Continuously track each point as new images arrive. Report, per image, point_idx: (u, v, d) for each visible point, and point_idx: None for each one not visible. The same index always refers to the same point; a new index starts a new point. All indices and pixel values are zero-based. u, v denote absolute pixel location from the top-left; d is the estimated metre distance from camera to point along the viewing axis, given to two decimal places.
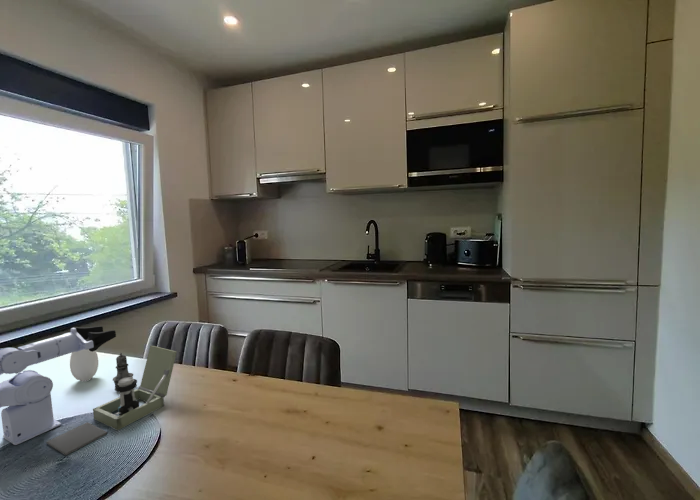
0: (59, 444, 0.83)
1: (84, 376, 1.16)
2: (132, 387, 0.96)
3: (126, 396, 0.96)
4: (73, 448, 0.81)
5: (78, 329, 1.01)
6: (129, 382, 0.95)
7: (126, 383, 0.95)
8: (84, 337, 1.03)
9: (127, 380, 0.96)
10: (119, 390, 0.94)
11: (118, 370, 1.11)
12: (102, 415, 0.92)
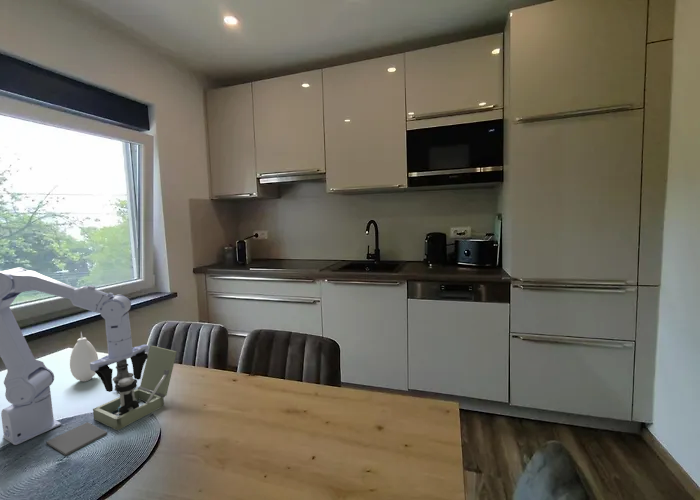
0: (59, 444, 0.83)
1: (84, 376, 1.16)
2: (132, 387, 0.96)
3: (126, 396, 0.96)
4: (73, 448, 0.81)
5: (139, 359, 0.97)
6: (129, 382, 0.95)
7: (126, 383, 0.95)
8: (133, 361, 0.99)
9: (127, 380, 0.96)
10: (119, 390, 0.94)
11: (118, 370, 1.11)
12: (102, 415, 0.92)
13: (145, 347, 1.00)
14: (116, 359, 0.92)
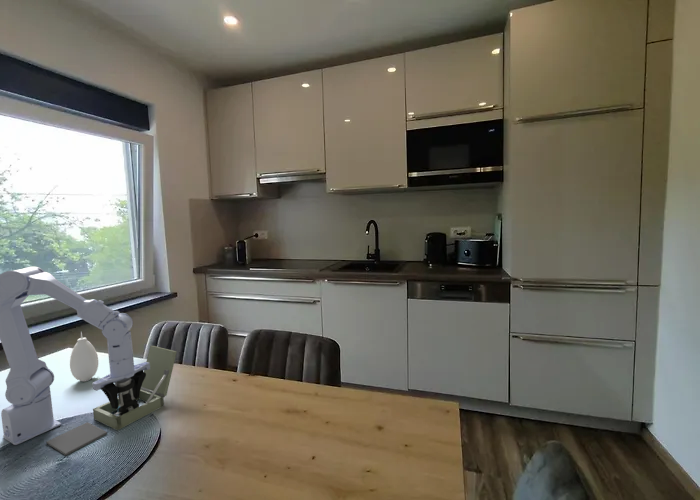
0: (59, 444, 0.83)
1: (84, 376, 1.16)
2: (130, 387, 0.95)
3: (124, 396, 0.95)
4: (73, 448, 0.81)
5: (137, 379, 0.97)
6: (126, 382, 0.95)
7: (123, 383, 0.94)
8: None
9: (124, 380, 0.95)
10: None
11: None
12: (102, 415, 0.92)
13: (147, 365, 1.01)
14: (118, 378, 0.92)
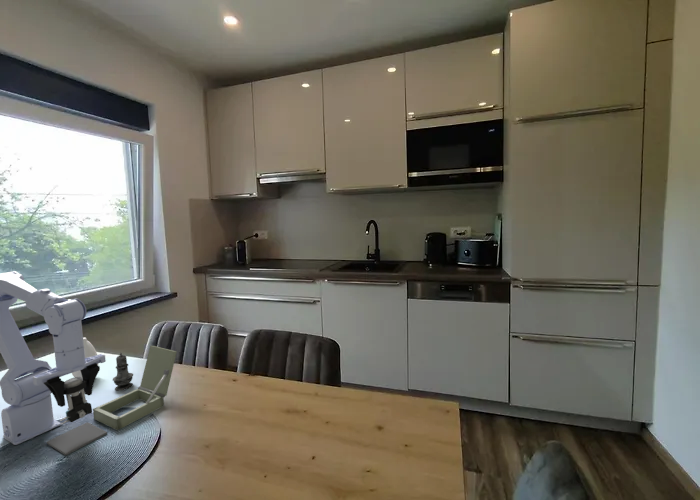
0: (59, 444, 0.83)
1: None
2: (80, 388, 0.84)
3: (74, 398, 0.84)
4: (73, 448, 0.81)
5: (89, 372, 0.86)
6: (76, 382, 0.84)
7: (72, 384, 0.83)
8: (83, 375, 0.88)
9: (74, 380, 0.84)
10: (64, 392, 0.83)
11: (118, 370, 1.11)
12: (102, 415, 0.92)
13: (101, 357, 0.90)
14: (64, 372, 0.81)
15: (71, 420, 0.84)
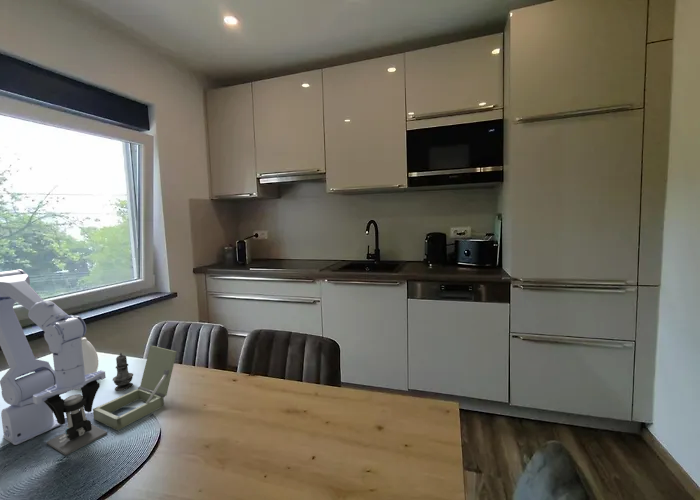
0: (59, 444, 0.83)
1: None
2: (80, 406, 0.84)
3: (74, 416, 0.85)
4: (73, 448, 0.81)
5: (89, 390, 0.86)
6: (76, 400, 0.84)
7: (72, 402, 0.84)
8: (83, 392, 0.88)
9: (74, 398, 0.85)
10: (64, 410, 0.83)
11: (118, 370, 1.11)
12: (102, 415, 0.92)
13: (101, 374, 0.90)
14: (64, 390, 0.81)
15: (70, 438, 0.84)
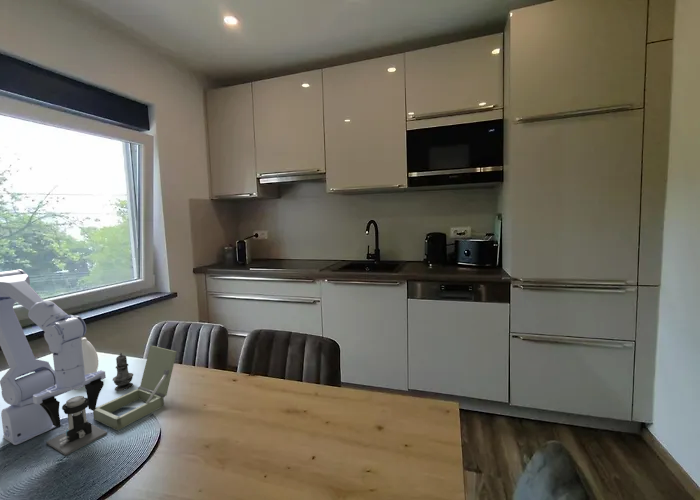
0: (59, 444, 0.83)
1: None
2: (82, 408, 0.84)
3: (75, 418, 0.85)
4: (73, 448, 0.81)
5: (93, 388, 0.87)
6: (78, 402, 0.84)
7: (75, 403, 0.84)
8: (88, 390, 0.89)
9: (76, 400, 0.85)
10: (66, 412, 0.83)
11: (118, 370, 1.11)
12: (102, 415, 0.92)
13: (101, 374, 0.90)
14: (64, 390, 0.81)
15: (70, 440, 0.84)
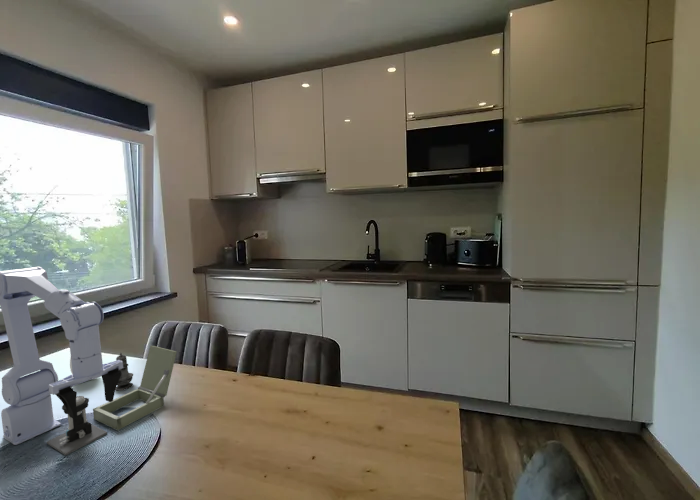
0: (59, 444, 0.83)
1: None
2: (82, 408, 0.85)
3: (75, 418, 0.85)
4: (73, 448, 0.81)
5: (111, 378, 0.82)
6: (78, 402, 0.84)
7: None
8: (105, 381, 0.84)
9: (76, 400, 0.85)
10: (66, 411, 0.83)
11: None
12: (102, 415, 0.92)
13: (119, 363, 0.85)
14: (81, 379, 0.77)
15: (70, 440, 0.84)
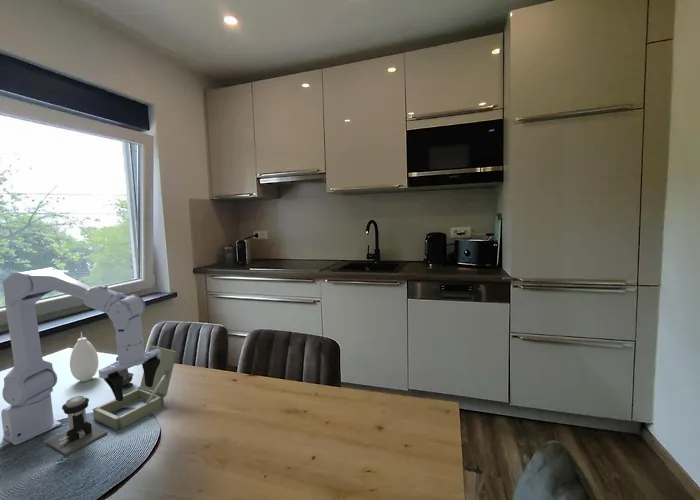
0: (59, 444, 0.83)
1: (84, 376, 1.16)
2: (82, 408, 0.85)
3: (75, 418, 0.85)
4: (73, 448, 0.81)
5: (151, 365, 0.90)
6: (78, 402, 0.84)
7: (75, 403, 0.84)
8: (145, 368, 0.91)
9: (76, 400, 0.85)
10: (66, 411, 0.83)
11: None
12: (102, 415, 0.92)
13: (157, 352, 0.92)
14: (127, 365, 0.84)
15: (70, 440, 0.84)
